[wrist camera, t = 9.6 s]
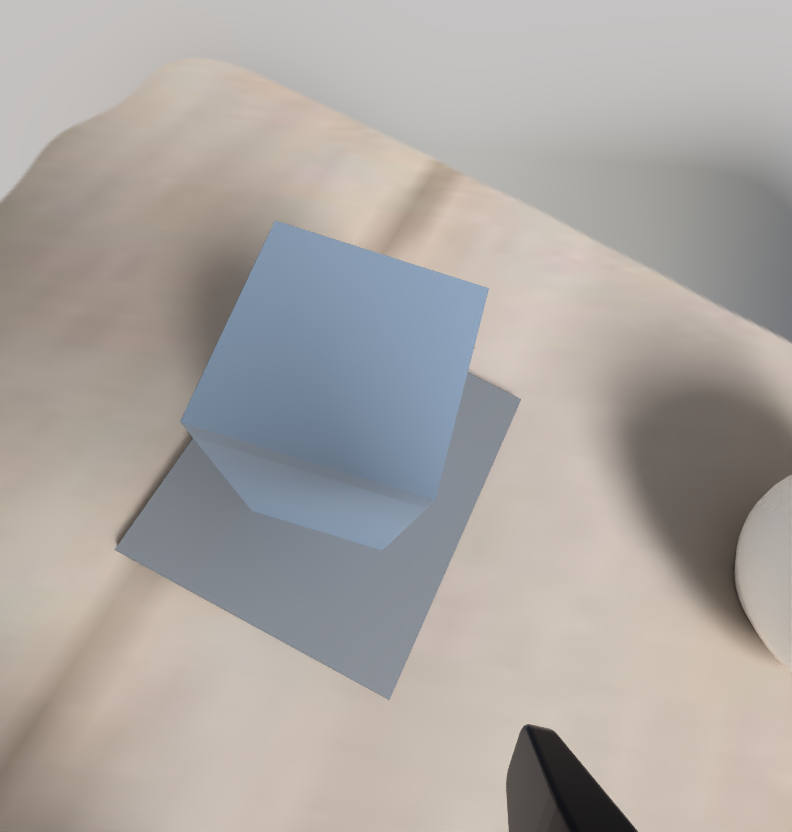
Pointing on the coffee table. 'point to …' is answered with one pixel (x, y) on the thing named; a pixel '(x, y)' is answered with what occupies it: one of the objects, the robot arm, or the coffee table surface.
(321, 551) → the flat square base plate
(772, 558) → the lidded jar
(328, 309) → the tall blue rectangular block
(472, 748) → the coffee table surface
